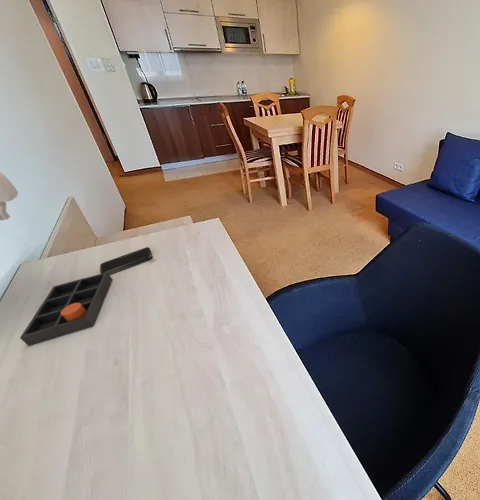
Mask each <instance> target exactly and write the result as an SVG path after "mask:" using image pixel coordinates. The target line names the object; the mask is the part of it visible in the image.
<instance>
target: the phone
mask: <svg viewBox="0 0 480 500" xmlns="http://www.w3.org/2000/svg"><path fill="white" fill-rule="evenodd" d="M152 259H153V253H152V250H151V248H150V246H149V247H148V246H147V247H144V248H140V249H137V250H135V251H132V252H129V253H127V254H123V255H120V256H118V257H115V258H112V259H109V260H107V261H104V262H101V263H100V265H99V268H100V269H99V274H102V273H106V272H108V274H109V275H110V276H111V275H113V274H115V273H118V272H121V271H123V270H126V269H128V268H131V267H134V266H137V265H140V264H142V263H145V262H147V261H150V260H152Z"/></svg>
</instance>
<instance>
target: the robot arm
mask: <svg viewBox="0 0 480 500" xmlns="http://www.w3.org/2000/svg"><path fill="white" fill-rule="evenodd" d="M18 194H19V191H18V190H17V188H16V187H15V185H14V184H13V183H12V182H11V180H9V179H8V177H6V176H5V174H4V173H3V172H1V171H0V221H6V220H9V219H10V218H11V216H10V214H9V212H8V211H7V202H11V201H13V200H15V199H16V198H17V197H18Z"/></svg>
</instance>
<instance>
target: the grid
mask: <svg viewBox="0 0 480 500" xmlns="http://www.w3.org/2000/svg"><path fill="white" fill-rule="evenodd" d="M113 280H114V279H113V277H112V276H111V274H110V275H109V274H108V272H106V273H102V274H101V273H99V274H94V275H92V276H88V277H83V278H80V279H76V280H71V281H68V282H65V283H60V284H57V285H53V286H52V288H51V289H50V291H49V292H48V294H47V296H46V297H45V299H44V300H43V302H42V303H41V304H40V306H39V307H38V309H37V311H36V312H35V314H34V316H33V317H32V319H31V320H30V321H29V323H28V324H27V326H26V327H25V329H24V330H23V332H22V334H21V335H20V337H19V339H20V340H22V341H23V343H25V344H26V345H27V346H28V347H29V346H32V345H33V346H34V345H36V344H40V343H42V342H46V341H50V340H53V339H56V338H59V337H62V336H66V335H69V334H72V333H76V332H79V331H83V330H87V329H88V328H92V327H94V326H95V324H96V321H97V318H98V316H99V314H100V311H101V308H102V306H103V304H104V302H105V299H106V297H107V294H108V292H109V289H110V287H111V284H112V282H113ZM73 303H80V304H81V305H82V306H83V307H84V308H85V309H86V311H87V312H86V314H85V317H84V318H80V319H77V320H73V321H70V322H68V321H67V320H66V319H65V318H64V317H63V316H62V315H61V311H62V310H63V309H64V308H65V307H67V306H68V305H71V304H73Z"/></svg>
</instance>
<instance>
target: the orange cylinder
mask: <svg viewBox="0 0 480 500" xmlns="http://www.w3.org/2000/svg"><path fill="white" fill-rule="evenodd" d="M86 312H87V311H86V309H85V308H84V307H83V306H82V305H81V304H80V303H73V304H71V305H68V306H67V307H65V308H64V309H63V310H62V311H61V315H62V316H63V317H64V318H65V319H66V320H67V321H68V322H70V321H73V320H77V319H80V318H84V317H85V314H86Z"/></svg>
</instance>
